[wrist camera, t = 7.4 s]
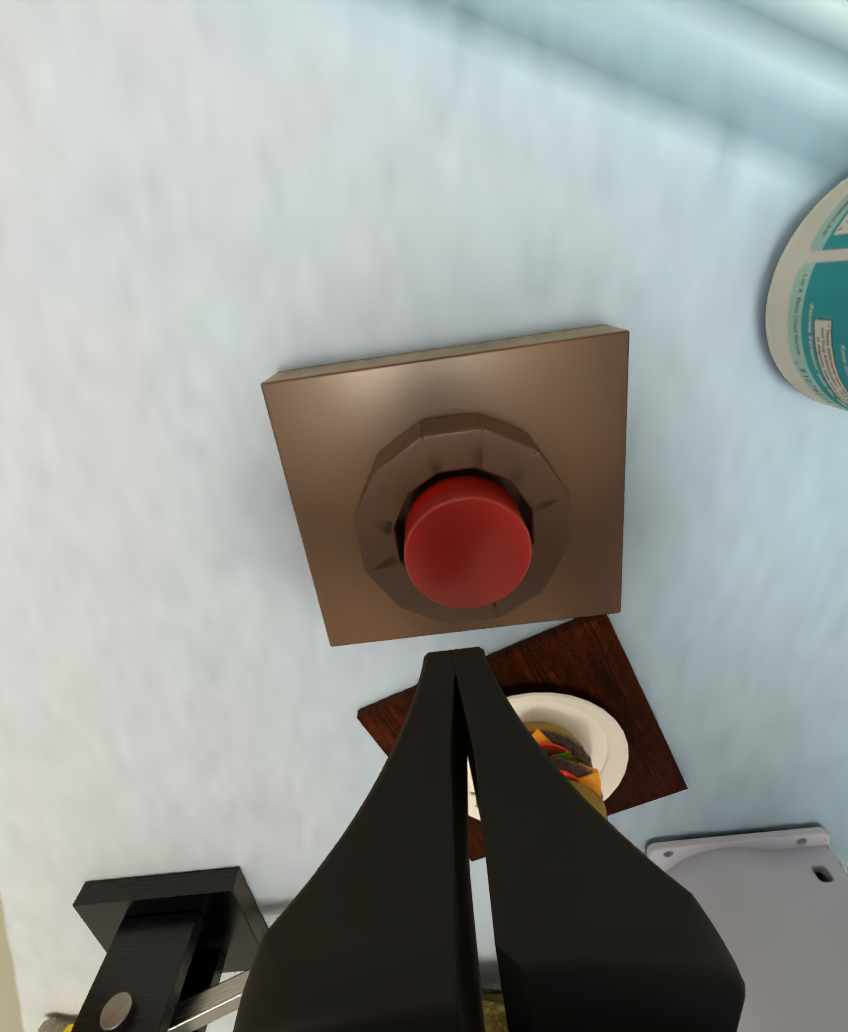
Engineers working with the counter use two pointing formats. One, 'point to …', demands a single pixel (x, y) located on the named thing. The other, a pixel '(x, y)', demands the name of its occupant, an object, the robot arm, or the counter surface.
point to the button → (466, 542)
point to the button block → (458, 472)
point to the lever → (209, 1005)
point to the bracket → (164, 944)
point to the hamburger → (569, 718)
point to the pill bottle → (814, 303)
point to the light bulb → (55, 1026)
